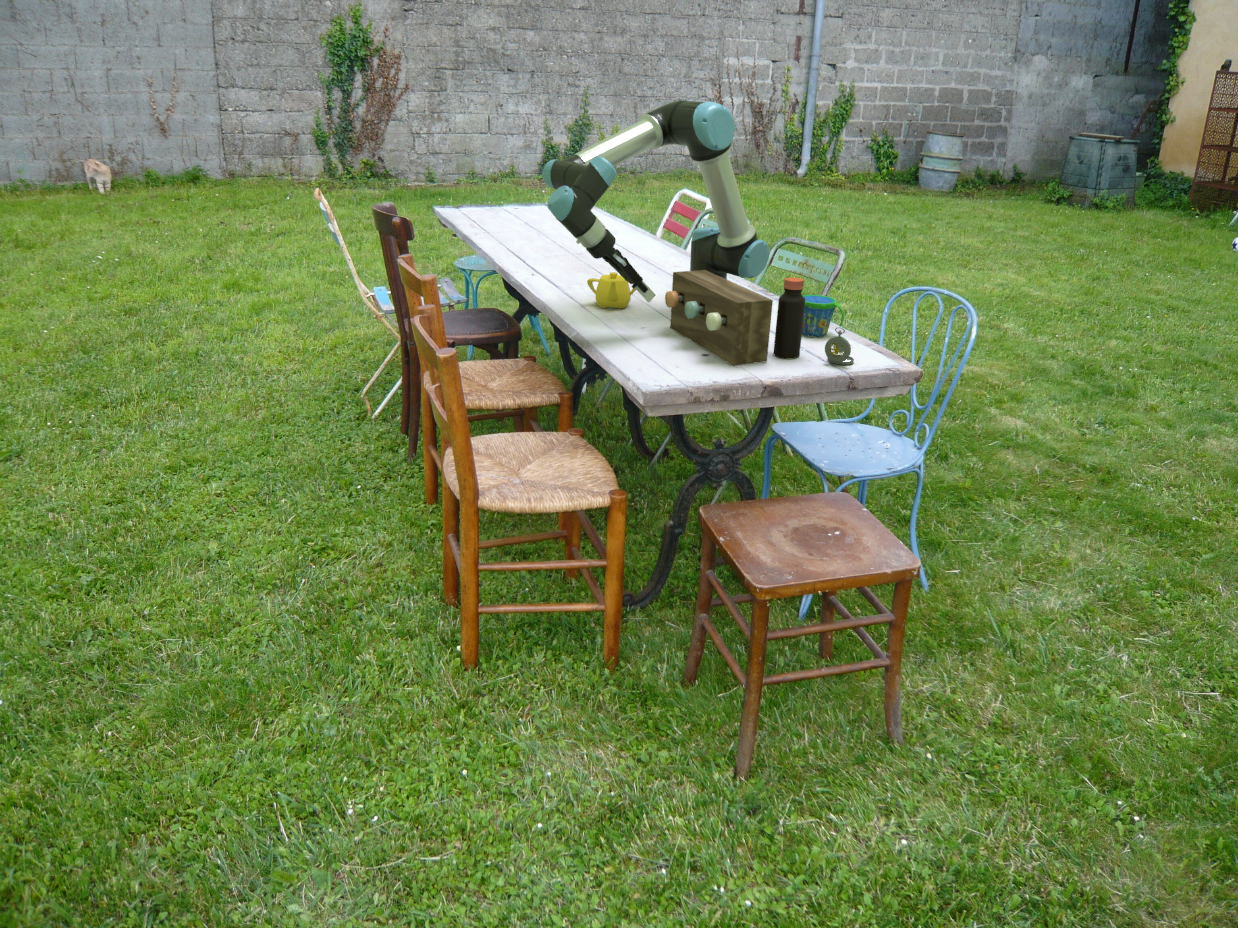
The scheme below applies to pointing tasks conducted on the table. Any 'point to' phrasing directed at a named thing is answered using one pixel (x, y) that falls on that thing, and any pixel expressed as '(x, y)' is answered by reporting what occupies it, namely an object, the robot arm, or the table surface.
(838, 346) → the pocket watch
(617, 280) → the yellow handled pot
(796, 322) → the bottle
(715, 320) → the cream button
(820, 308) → the snack cup
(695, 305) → the teal button
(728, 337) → the console
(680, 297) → the terracotta button
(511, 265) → the table surface
